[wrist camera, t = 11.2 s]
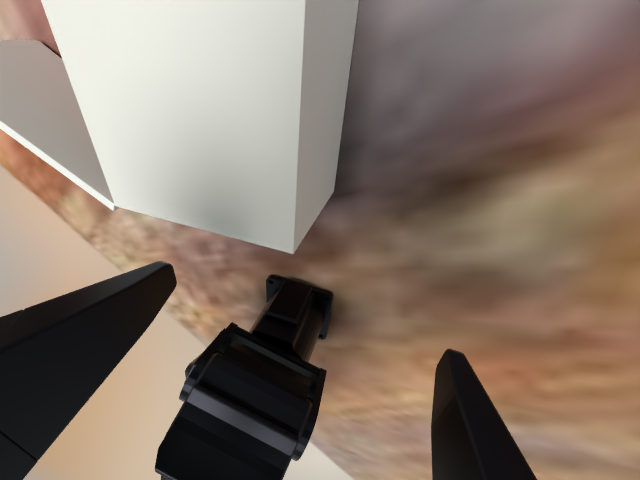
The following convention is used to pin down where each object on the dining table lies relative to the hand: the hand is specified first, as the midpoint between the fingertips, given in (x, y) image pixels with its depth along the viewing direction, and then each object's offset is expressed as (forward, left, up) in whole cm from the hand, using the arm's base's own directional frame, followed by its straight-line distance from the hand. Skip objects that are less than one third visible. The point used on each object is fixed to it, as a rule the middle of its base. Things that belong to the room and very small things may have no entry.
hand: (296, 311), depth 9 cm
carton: (+5, +7, -13) cm, 16 cm away
